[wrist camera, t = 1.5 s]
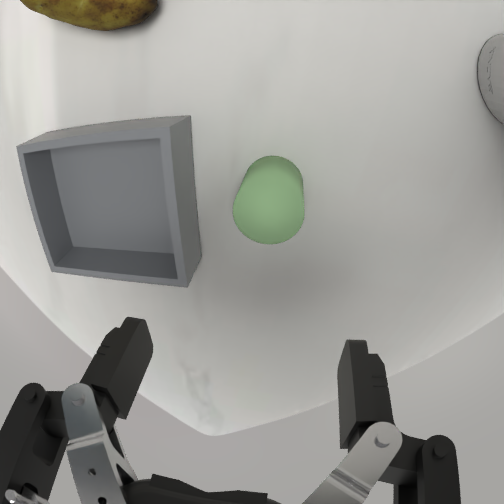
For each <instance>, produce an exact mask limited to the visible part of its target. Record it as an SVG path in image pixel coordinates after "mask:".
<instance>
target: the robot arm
mask: <svg viewBox="0 0 504 504" xmlns="http://www.w3.org/2000/svg"><path fill="white" fill-rule="evenodd" d="M478 80H479V86H480V90H481V93H482V96H483V99H484V101H485V103H486V105H487V107H488V109H489V110H490V111H491V113H492V114H493V115H494V116H495V117H496V118H497V119H498V120H499V121H500V122H501V123H503V124H504V34H498V35H496V36H494V37H492V38H491V39H489V40H488V41H487V42H486V44H485V45H484V47H483V48H482V51H481V54H480V56H479V62H478ZM152 354H153V343H152V340H151V336H150V333H149V330H148V326H147V323H146V321H145V320H144V319H138V318H132V317H127V318H126V319H125V320H124V322H123V324H122V325H121V327H120V328H117V327H115V328H114V329H113V330H111V331H110V332H109V333H108V334H107V335H106V336H105V338H104V340H103V341H102V343H101V346H100V347H99V348H98V350H97V354H95V356H94V357H93V359H92V361H91V363H90V365H89V366H88V368H87V370H86V372H85V374H84V376H83V378H82V379H81V381H80V383H76V384H73V385H71V386H69V387H68V388H67V389H66V390H65V391H45V389H44V388H43V387H42V386H41V385H40V384H38V383H30V384H27V385H25V386H24V387H23V388H22V389H21V390H20V392H19V394H18V396H17V398H16V400H15V402H14V404H13V406H12V408H11V410H10V412H9V414H8V416H7V418H6V420H5V422H4V424H3V426H2V428H1V430H0V504H49V502H48V499H49V496H50V493H51V490H52V486H53V484H54V481H55V477H56V475H57V472H58V469H59V466H60V463H61V460H62V458H63V455H64V452H65V450H66V451H67V455H68V459H69V463H70V467H71V471H72V474H73V478H74V481H75V484H76V488H77V491H78V494H79V497H80V500H81V503H82V504H280V503H278V502H276V501H274V500H271V499H268V498H267V495H268V494H267V493H258V492H248V491H240V490H237V491H224V492H204V491H202V490H200V489H197V488H195V487H193V486H191V485H189V484H186V483H184V482H182V481H180V480H176V479H172V478H168V477H164V476H159V475H156V474H152V478H151V479H144V480H138V478H137V476H136V474H135V472H134V470H133V469H132V467H131V465H130V464H129V461H128V459H127V457H126V454H125V451H124V449H123V446H122V443H121V441H120V438H119V435H118V432H117V429H116V426H115V424H114V423H115V421H116V418H117V417H118V418H122V419H126V418H127V416H128V413H129V411H130V408H131V406H132V403H133V401H134V398H135V396H136V393H137V391H138V389H139V386H140V384H141V381H142V379H143V377H144V374H145V372H146V369H147V367H148V365H149V362H150V360H151V358H152ZM337 379H338V398H339V423H340V449H348V455H347V456H346V457H345V458H344V459H343V461H342V462H341V463H340V464H339V465H338V467H337V468H336V469H335V470H334V471H332V473H331V474H330V475H329V476H328V477H327V478H326V479H325V480H324V481H323V482H322V483H321V484H320V486H319V487H318V488H317V489H316V490H315V491H314V492H313V493H312V494H311V495H310V496H309V497H308V498H307V499H306V500H305V502H303V503H302V504H362V503H363V502H364V501H365V499H366V498H367V496H368V494H369V492H370V490H371V489H372V487H373V486H374V485H375V483H376V482H377V481H382V482H386V483H391V484H394V504H461V497H460V484H459V474H458V464H457V456H456V449H455V446H454V444H453V442H452V441H451V440H450V439H449V438H448V437H446V436H443V435H435V436H432V437H430V438H429V439H427V440H423V439H418V438H414V437H410V436H407V435H405V434H403V433H402V432H400V430H399V429H398V428H397V427H396V426H395V424H394V420H393V415H392V408H391V401H390V395H389V389H388V383H387V378H386V371H385V366H384V363H383V362H382V360H381V359H380V357H379V356H378V354H368V347H367V342H366V340H346V342H345V346H344V349H343V352H342V355H341V359H340V362H339V366H338V375H337ZM69 440H70V444H68V441H69ZM67 444H68V445H67Z"/></svg>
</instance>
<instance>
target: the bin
mask: <svg viewBox="0 0 504 504" xmlns="http://www.w3.org/2000/svg"><path fill="white" fill-rule="evenodd" d="M16 147H17V152H18V157H19V162H20V167H21V171H22V176H23V180H24V184H25V188H26V192H27V196H28V200H29V203H30V207H31V211H32V214H33V218H34V221H35V224H36V227H37V231H38V234H39V237H40V240H41V243H42V246H43V249H44V252H45V255H46V258H47V260H48V263H49V266H50V269H51V271H52V272H57V273H65V274H72V275H80V276H88V277H96V278H104V279H113V280H121V281H130V282H139V283H149V284H158V285H168V286H178V287H188V286H189V283H190V281H191V279H192V277H193V274H194V272H195V270H196V268H197V265H198V263H199V261H200V259H201V248H200V237H199V227H198V216H197V204H196V192H195V179H194V165H193V150H192V134H191V116H173V117H158V118H146V119H135V120H125V121H116V122H108V123H100V124H93V125H86V126H80V127H73V128H67V129H62V130H56V131H51V132H47V133H45V134H42V135H40V136H38V137H36V138H33V139H31V140H29V141H27V142H25V143H23V144H20V145H18V146H16Z"/></svg>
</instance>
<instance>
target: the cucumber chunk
mask: <svg viewBox="0 0 504 504" xmlns="http://www.w3.org/2000/svg"><path fill="white" fill-rule="evenodd" d="M233 217H234V221H235V223H236V225H237V227H238V228H239V230H240V231H241V232H242V233H243V234H244V235H245V236H246V237H248V238H249V239H251V240H253V241H255V242H258V243H262V244H278V243H281V242H284V241H286V240H288V239H290V238H292V237H293V236H294V235H295V234H296V233H297V232H298V231H299V229H300V228H301V225H302V223H303V220H304V197H303V181H302V176H301V173H300V171H299V170H298V168H297V167H296V166H295V165H294V164H293V163H292V162H291V161H289V160H287V159H285V158H283V157H279V156H267V157H263V158H261V159H259V160H257V161H255V162H254V163H253V164H252V165H251V166H250V167H249V169H248V171H247V173H246V175H245V177H244V180H243V182H242V184H241V187H240V189H239V191H238V194H237V196H236V198H235V201H234V204H233Z"/></svg>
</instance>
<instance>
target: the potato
mask: <svg viewBox="0 0 504 504" xmlns="http://www.w3.org/2000/svg"><path fill="white" fill-rule="evenodd" d="M20 1H21V2H22V3H23V4H24V5H25V6H26V7H28V8H29V9H31V10H33V11H35V12H38V13H41V14H44V15H46V16H48V17H49V18H51V19H56V20H59V21H63V22H66V23H69V24H72V25H75V26H79V27H84V28H88V29H93V30H100V31H109V30H115V29H118V28H122V27H126V26H131V25H135V24H139V23H141V22H143V21H145V20H146V19H147V18H148V17H149V16H150V15H151V14H152V13H153V12H154V10H155V9H156V7H157V5H158V4H157V0H20Z"/></svg>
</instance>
